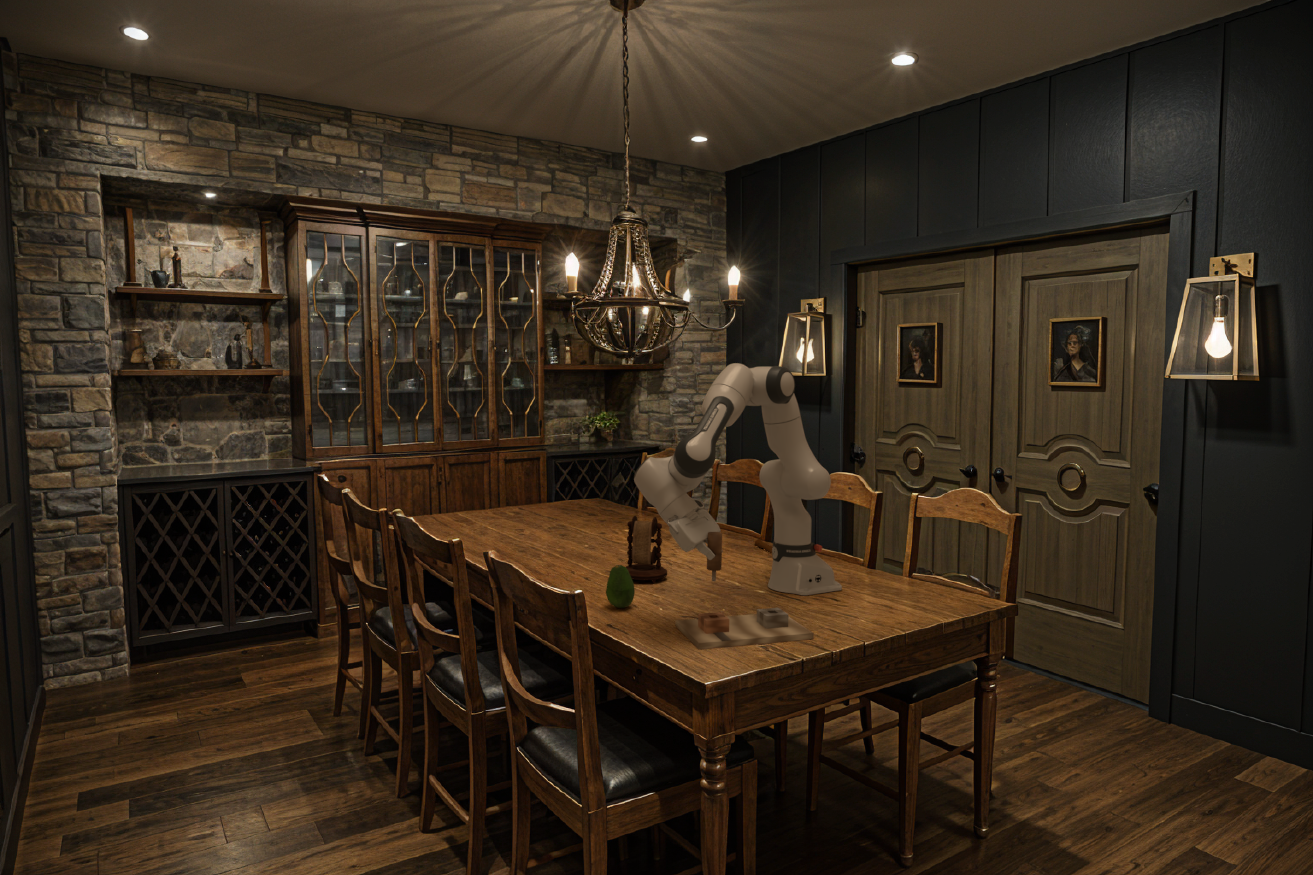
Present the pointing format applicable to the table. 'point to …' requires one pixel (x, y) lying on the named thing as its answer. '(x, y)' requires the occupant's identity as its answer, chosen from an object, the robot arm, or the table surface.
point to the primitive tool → (763, 545)
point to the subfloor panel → (742, 629)
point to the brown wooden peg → (716, 546)
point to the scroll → (644, 550)
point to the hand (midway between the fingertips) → (716, 556)
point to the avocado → (620, 587)
